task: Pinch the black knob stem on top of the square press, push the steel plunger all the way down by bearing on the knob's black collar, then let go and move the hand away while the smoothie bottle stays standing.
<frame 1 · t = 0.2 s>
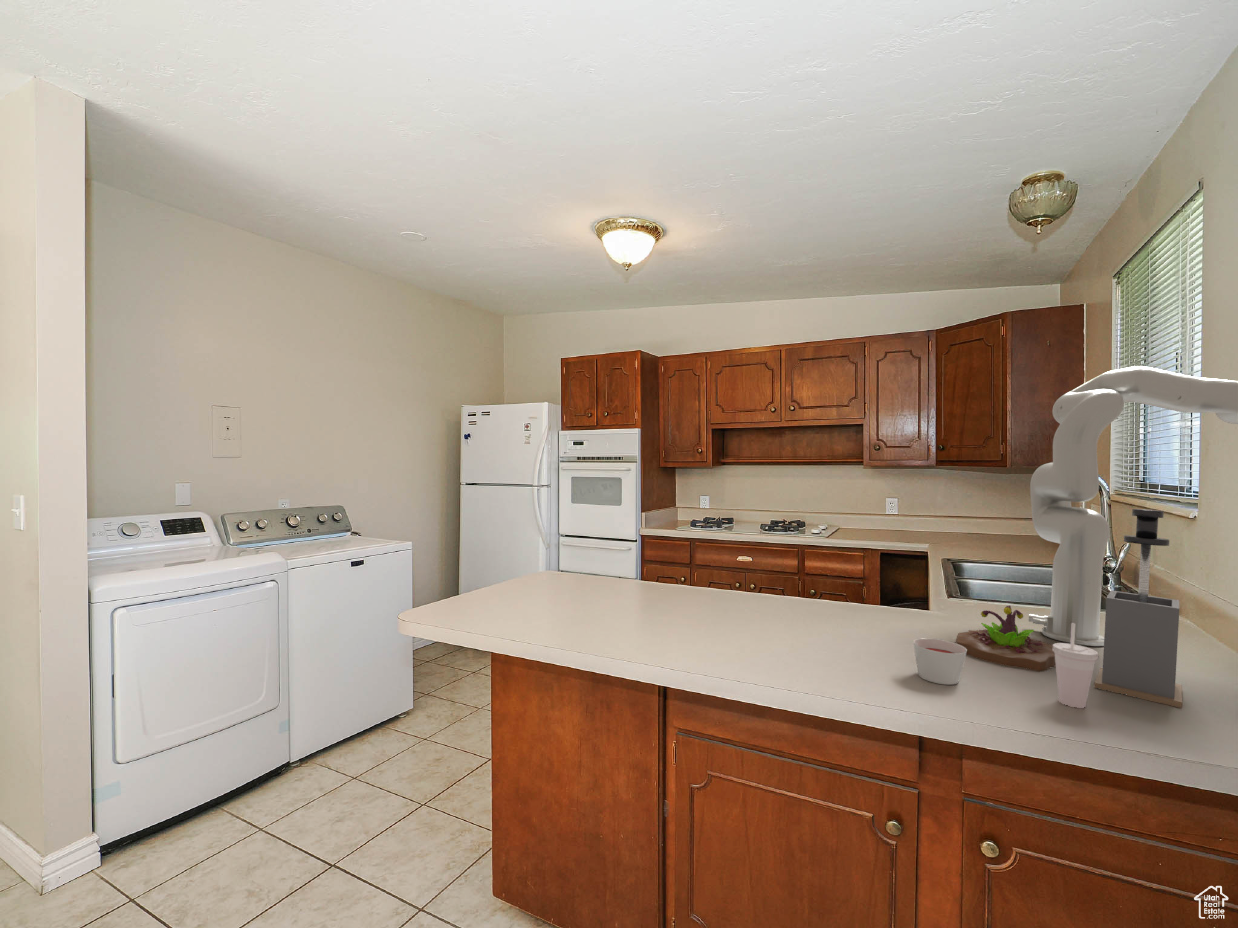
plunger: (1144, 574, 113), point 22 cm above the countertop, slide at 8.0 cm
candle: (938, 679, 115), on the countertop
smoothie: (1072, 704, 105), on the countertop
plant: (1006, 655, 132), on the countertop
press: (1138, 688, 113), on the countertop
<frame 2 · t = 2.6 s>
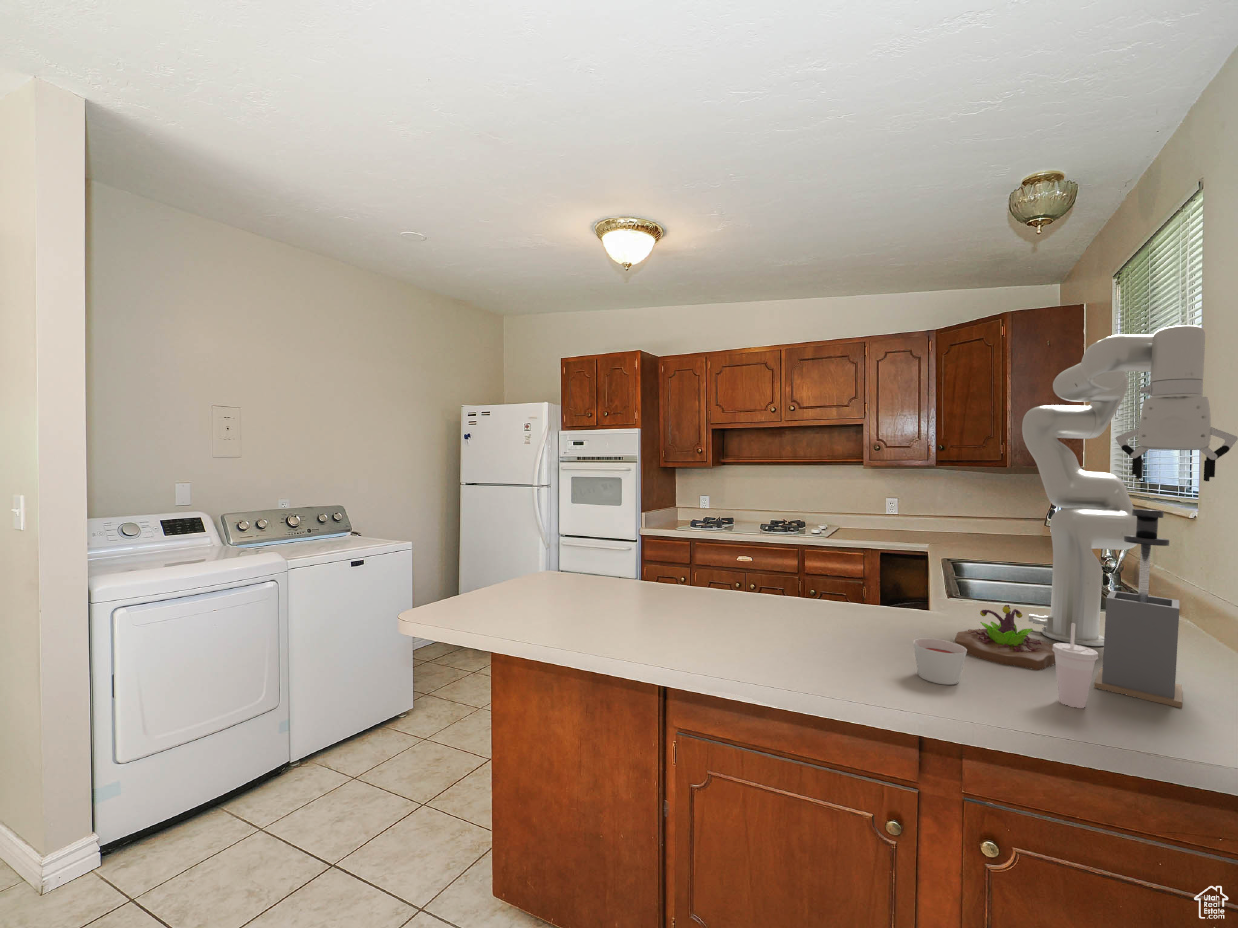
hand: (1171, 479, 116), 39 cm above the countertop, tool pointing down, fingers open, 9 cm apart
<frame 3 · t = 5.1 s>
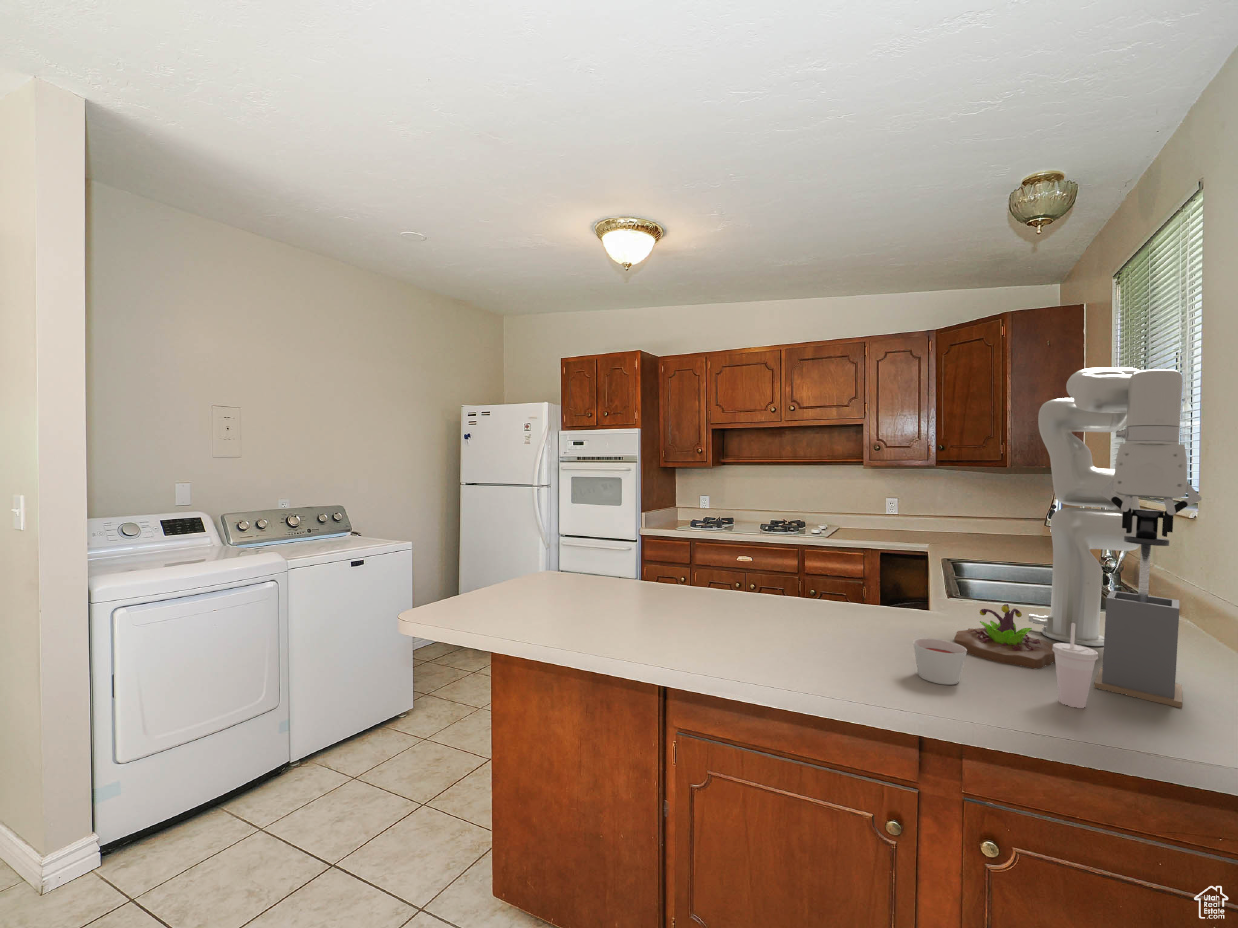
hand: (1146, 533, 113), 29 cm above the countertop, tool pointing down, fingers closed on plunger, 4 cm apart
plunger: (1144, 575, 113), point 21 cm above the countertop, slide at 8.0 cm, touching gripper
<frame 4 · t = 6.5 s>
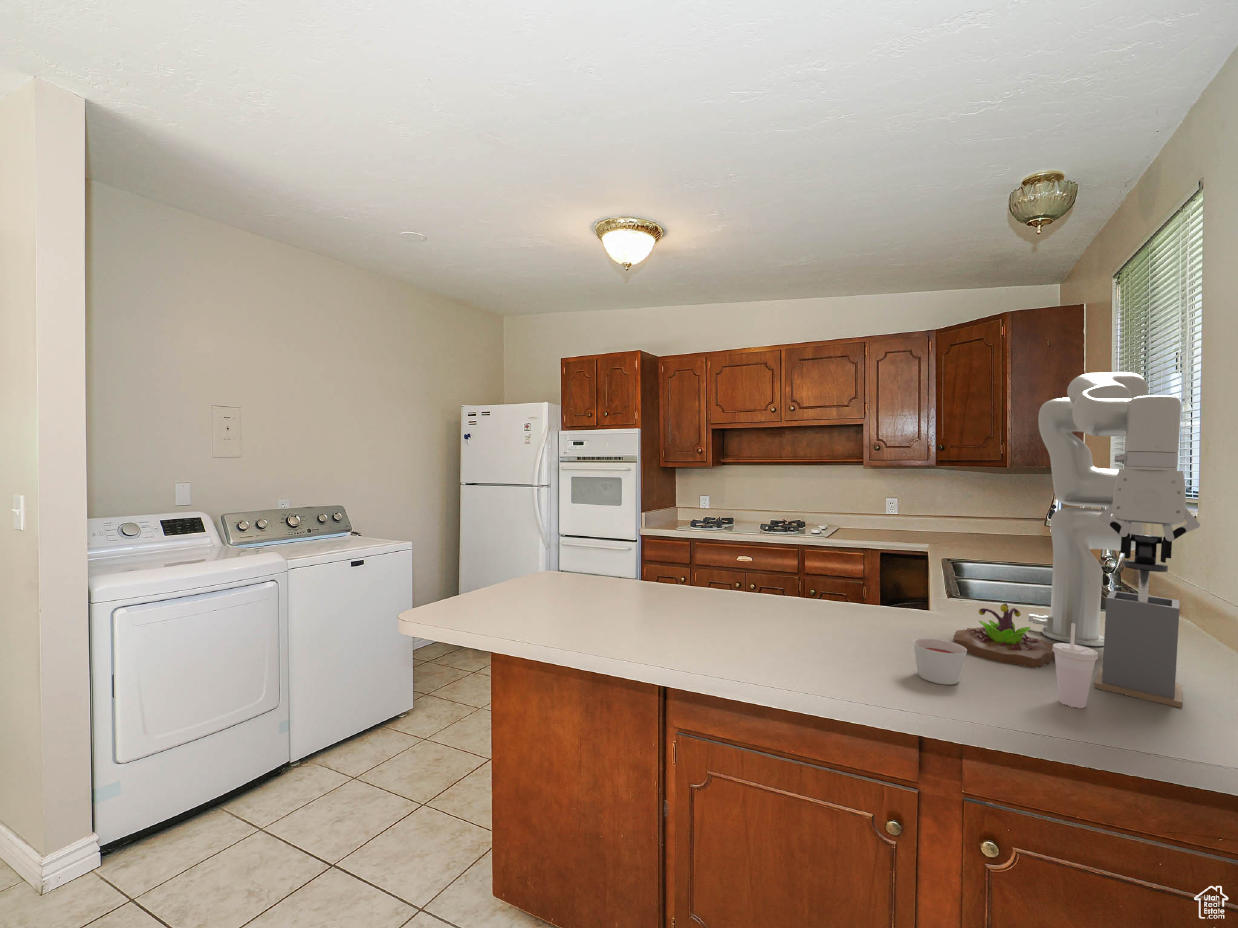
hand: (1145, 558, 113), 25 cm above the countertop, tool pointing down, fingers closed on plunger, 4 cm apart
plunger: (1142, 600, 113), point 17 cm above the countertop, slide at 3.2 cm, touching gripper
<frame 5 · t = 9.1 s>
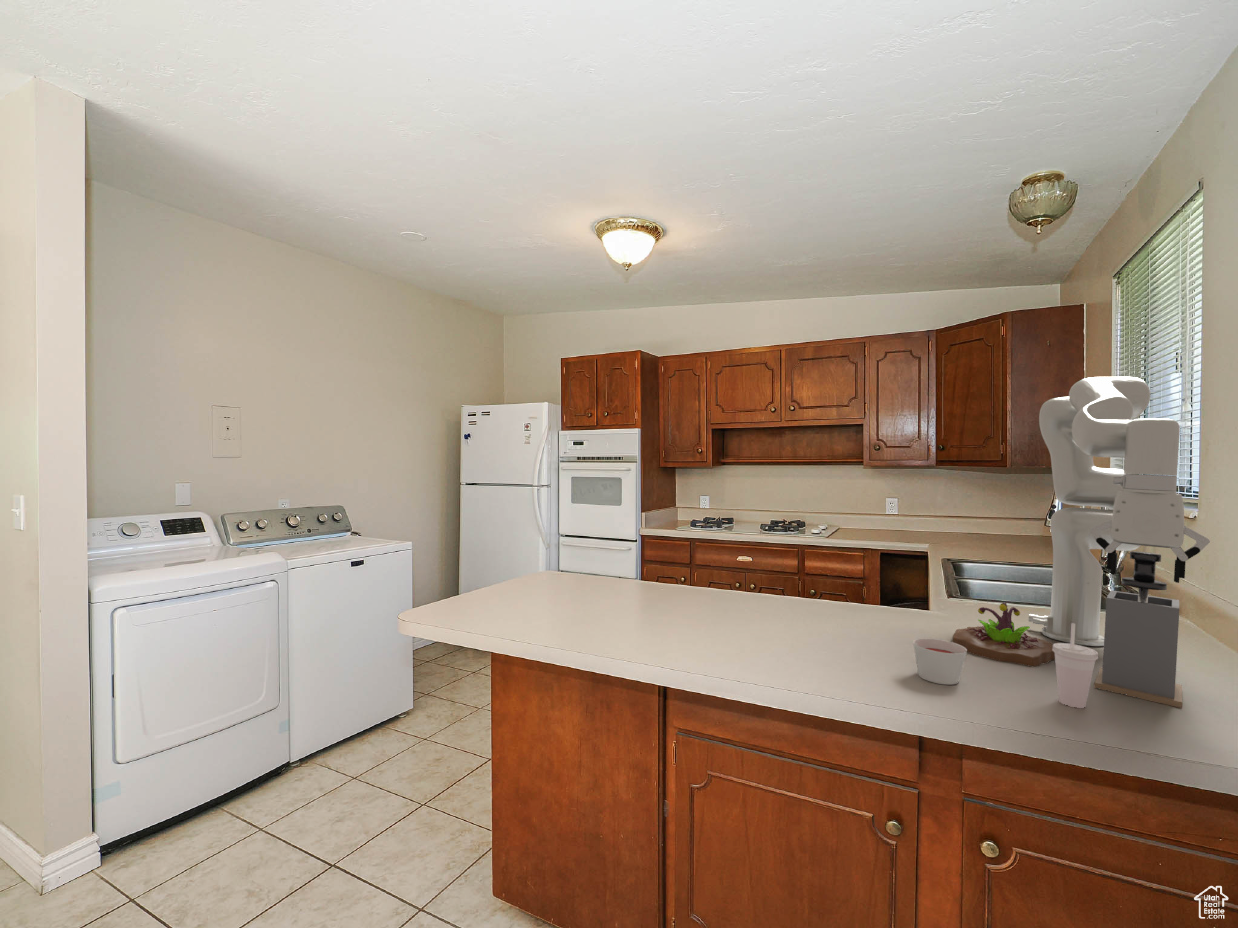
hand: (1144, 577, 113), 21 cm above the countertop, tool pointing down, fingers open, 8 cm apart
plunger: (1141, 617, 113), point 13 cm above the countertop, slide at -0.1 cm
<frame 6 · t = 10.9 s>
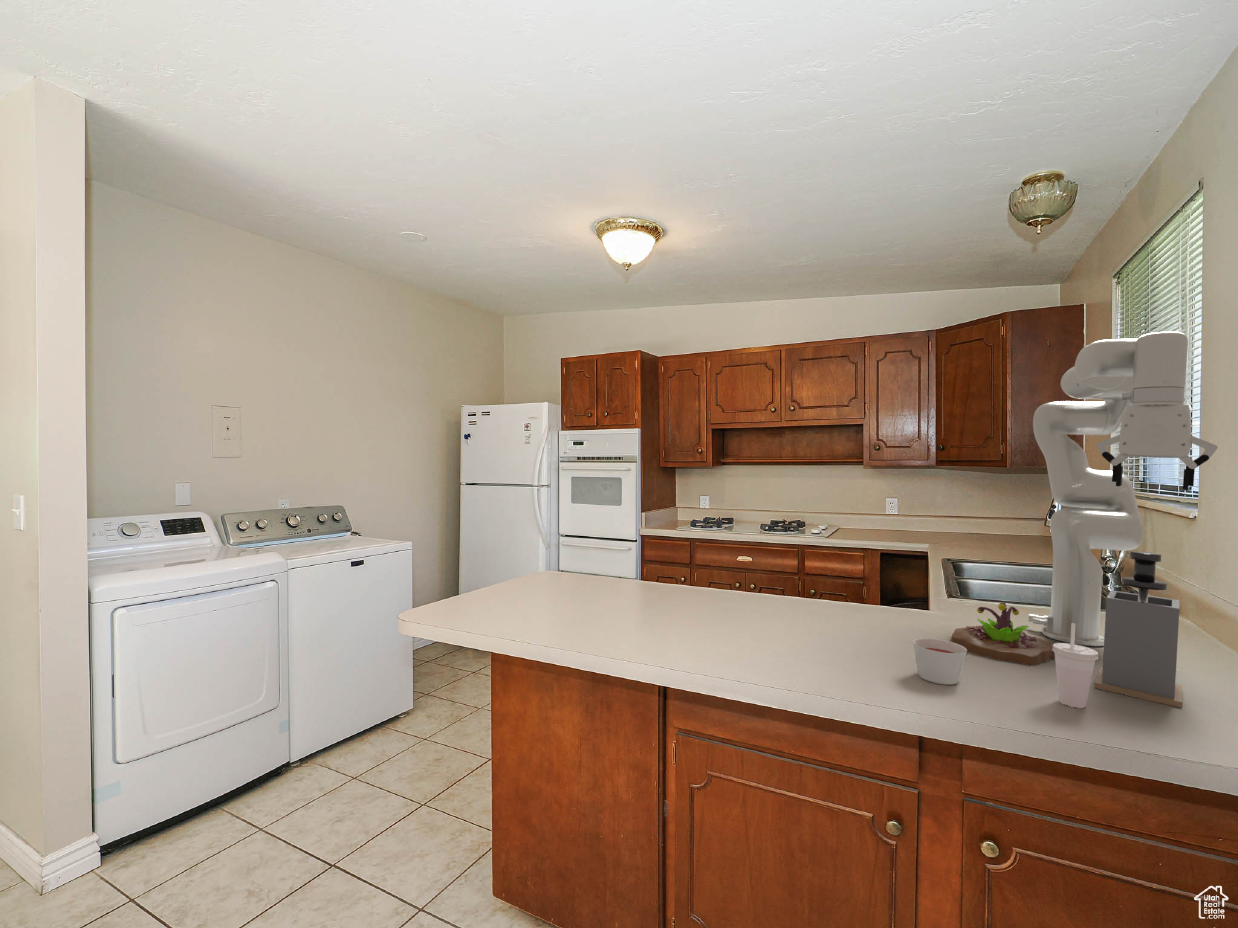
hand: (1151, 487, 116), 38 cm above the countertop, tool pointing down, fingers open, 9 cm apart
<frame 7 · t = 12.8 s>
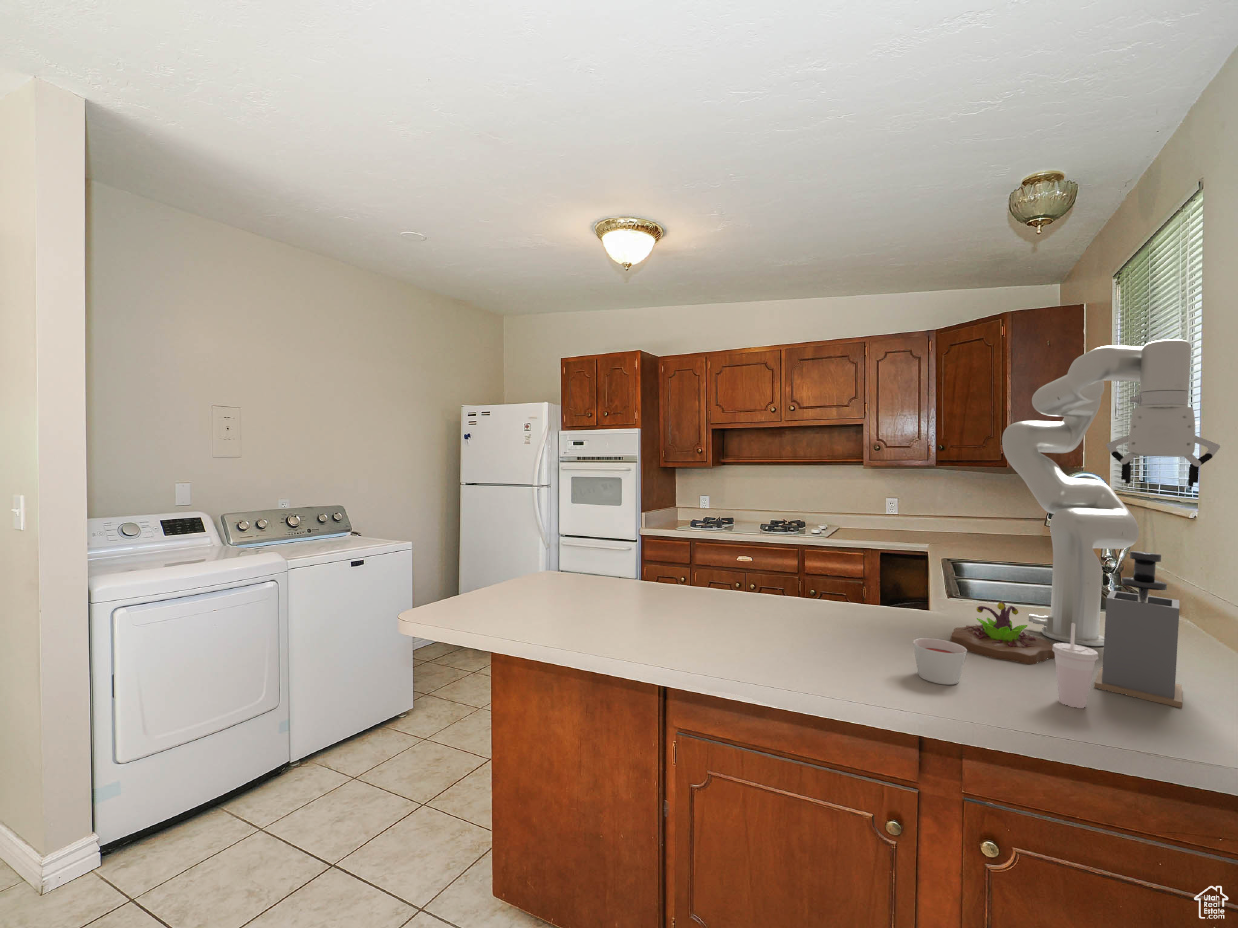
hand: (1158, 484, 124), 38 cm above the countertop, tool pointing down, fingers open, 9 cm apart
at the end: plunger slide at -0.1 cm; the gripper is holding nothing; smoothie tilted 0° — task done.
